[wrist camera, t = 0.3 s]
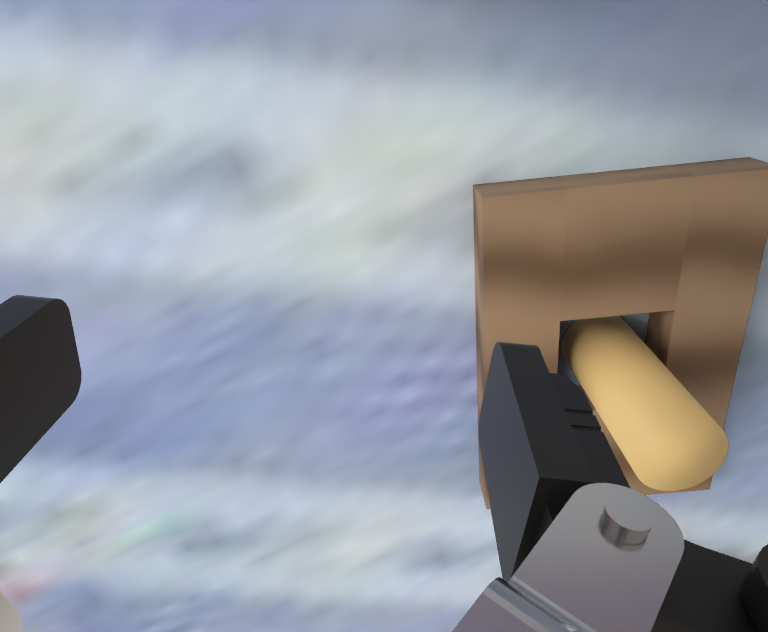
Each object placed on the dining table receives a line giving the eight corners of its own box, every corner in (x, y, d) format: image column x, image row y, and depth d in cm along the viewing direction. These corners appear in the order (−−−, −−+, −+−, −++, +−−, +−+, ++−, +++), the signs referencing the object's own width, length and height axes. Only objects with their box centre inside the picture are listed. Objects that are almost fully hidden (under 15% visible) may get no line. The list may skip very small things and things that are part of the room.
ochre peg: (562, 314, 32) (639, 422, 23) (632, 308, 32) (736, 414, 23) (559, 373, 34) (629, 494, 25) (625, 367, 34) (719, 487, 25)
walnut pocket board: (473, 184, 28) (482, 197, 26) (749, 157, 28) (782, 167, 26) (479, 480, 37) (486, 509, 35) (688, 461, 37) (709, 489, 35)
